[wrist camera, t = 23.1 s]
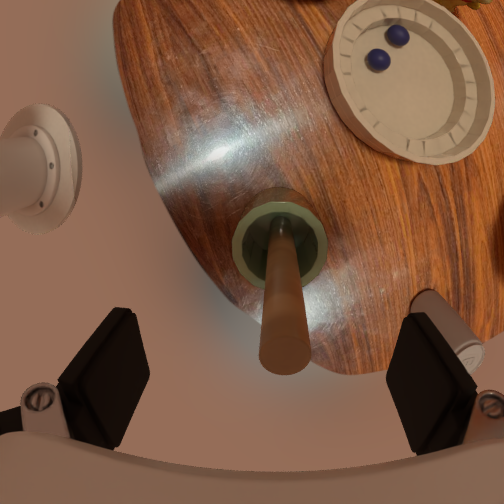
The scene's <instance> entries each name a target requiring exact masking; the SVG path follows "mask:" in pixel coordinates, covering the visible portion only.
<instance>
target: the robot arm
mask: <svg viewBox="0 0 504 504" xmlns="http://www.w3.org/2000/svg"><path fill="white" fill-rule="evenodd" d="M59 181H60V160H59V154H58V150H57V147H56V144H55V142H54V140H53V138H52V137H51V135H50V134H49V133H48V132H47V131H46V130H45V129H44V128H42V127H40V126H38V125H25V126H23V127H20V128H19V129H17V130H16V131H15V132H14V133H13V134H12V135H11V136H10V138H9V139H2V140H0V217H2V216H4V215H7V214H10V213H12V212H15V211H17V212H18V213H20V214H21V215H24V216H35V215H38V214H40V213H42V212H44V211H45V210H46V209H47V208H48V207H49V206H50V205H51V203H52V202H53V200H54V198H55V196H56V193H57V190H58V186H59ZM149 376H150V370H149V366H148V362H147V359H146V354H145V351H144V347H143V342H142V338H141V334H140V330H139V325H138V321H137V317H136V314H135V313H132V311H131V309H129V308H119V307H115V308H113V309H112V311H111V312H110V313H109V314H108V315H107V317H106V318H105V319H104V320H103V322H102V323H101V324H100V326H99V327H98V328H97V329H96V330H95V332H94V333H93V334H92V335H91V337H90V338H89V339H88V340H87V342H86V343H85V344H84V345H83V347H82V348H81V349H80V351H79V352H78V353H77V355H76V356H75V357H74V358H73V360H72V361H71V362H70V364H69V365H68V366H67V368H66V369H65V370H64V372H63V373H62V374H61V376H60V377H59V379H58V382H59V383H58V385H57V386H56V387H55V386H54V385H52V384H50V383H37V384H35V385H32V386H31V387H29V388H28V389H26V391H25V392H24V393H23V395H22V397H21V402H20V405H21V406H19V407H15V408H12V409H9V410H6V411H2V412H0V504H504V395H503V394H501V393H499V392H497V391H494V390H484V391H482V392H480V393H479V394H478V393H477V392H476V388H477V385H476V383H475V382H474V380H473V379H472V377H471V376H470V374H469V373H468V371H467V370H466V368H465V367H464V365H463V364H462V362H461V361H460V359H459V358H458V356H457V355H456V354H455V352H454V351H453V349H452V348H451V347H450V345H449V344H448V342H447V341H446V340H445V338H444V337H443V335H442V334H441V333H440V331H439V330H438V329H437V327H436V326H435V325H434V323H433V322H432V321H431V319H430V318H429V317H428V315H427V314H426V313H425V312H416V313H409V314H408V316H407V317H405V318H404V319H403V322H402V326H401V329H400V333H399V336H398V340H397V343H396V346H395V349H394V353H393V356H392V359H391V362H390V365H389V368H388V371H387V374H386V382H387V385H388V388H389V390H390V393H391V395H392V398H393V401H394V403H395V406H396V408H397V411H398V414H399V416H400V419H401V422H402V425H403V427H404V430H405V433H406V436H407V439H408V442H409V445H410V447H411V450H412V452H414V453H415V452H416V454H417V456H415V457H410V458H405V459H401V460H396V461H391V462H386V463H379V464H373V465H366V466H360V467H351V468H343V469H332V470H319V471H301V472H300V471H299V472H254V471H235V470H222V469H211V468H202V467H194V466H187V465H180V464H174V463H168V462H162V461H157V460H152V459H147V458H142V457H137V456H134V455H129V454H125V453H121V452H117V451H113V450H114V448H115V447H118V446H119V445H120V443H121V441H122V439H123V436H124V434H125V432H126V429H127V427H128V425H129V422H130V420H131V418H132V416H133V413H134V411H135V409H136V406H137V404H138V402H139V400H140V397H141V395H142V393H143V391H144V389H145V386H146V384H147V382H148V380H149Z"/></svg>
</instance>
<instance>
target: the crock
mask: <svg viewBox="0 0 504 504" xmlns="http://www.w3.org/2000/svg"><path fill="white" fill-rule="evenodd" d="M277 216H284V217H286V218H288V219H289V220H290V222H291V225H292V231H293V236H294V242H295V248H296V254H297V260H298V266H299V272H300V278H301V285H302V287H304V286H306V285H307V284H308V283H309V282H311V281H312V280H313V279H314V278H315V277H316V276H318V274H319V273H320V271H321V269H322V267H323V265H324V263H325V261H326V259H327V251H328V239H327V236H326V233H325V230H324V228H323V225H322V223H321V221H320V219H319V217H318V216H317V214H316V212H315V210H314V208H313V207H312V205H311V204H310V203H309V201H308V200H307V199H306V198H305V197H304V196H303V195H302V194H300V193H299V192H297V191H295V190H292V189H290V188H285V187H273V188H269V189H266V190H263V191H261V192H260V193H258V194H257V195H255V196H254V197H253V198H252V199H251V200H250V202H249V203H248V204H247V206H246V208H245V210H244V212H243V214H242V216H241V219H240V221H239V223H238V225H237V228H236V230H235V233H234V235H233V238H232V257H233V260H234V262H235V264H236V266H237V268H238V270H239V272H240V273H241V275H242V276H244V277H245V278H246V279H247V280H248V281H249V282H250V283H251V284H252V285H254V286H256V287H259V288H261V289H264V290H265V279H266V267H267V255H268V243H269V230H270V223H271V221H272V220H273V219H274V218H275V217H277Z"/></svg>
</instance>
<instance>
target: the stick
mask: <svg viewBox="0 0 504 504" xmlns="http://www.w3.org/2000/svg"><path fill="white" fill-rule="evenodd" d="M310 359H311V346H310V339H309V332H308V325H307V318H306V311H305V304H304V298H303V291H302V285H301V278H300V272H299V266H298V260H297V254H296V248H295V242H294V236H293V231H292V225H291V222H290V220H289V219H288V218H286V217H284V216H277V217H275V218H274V219H273V220H272V221H271V223H270V230H269V243H268V255H267V267H266V279H265V291H264V303H263V314H262V325H261V337H260V347H259V360H260V362H261V364H262V366H263V367H264V368H265V369H266V370H268V371H270V372H271V373H274V374H278V375H291V374H295V373H297V372H299V371H301V370H303V369H304V368H305V367H306V366H307V365H308V363H309V362H310Z"/></svg>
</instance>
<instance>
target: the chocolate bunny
mask: <svg viewBox="0 0 504 504" xmlns="http://www.w3.org/2000/svg"><path fill="white" fill-rule="evenodd" d="M432 1H434V2H436V3H438V4H439V5H441V6H443V7H445V8H446V9H447V10H448V11H450V12H453V11H454V9H455V7H456V6H464V5H467V6H469V7H470V8H471V9H473V10H477V9H479V8H480V3H482V4H489V3H491V2H492V0H432Z"/></svg>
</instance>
